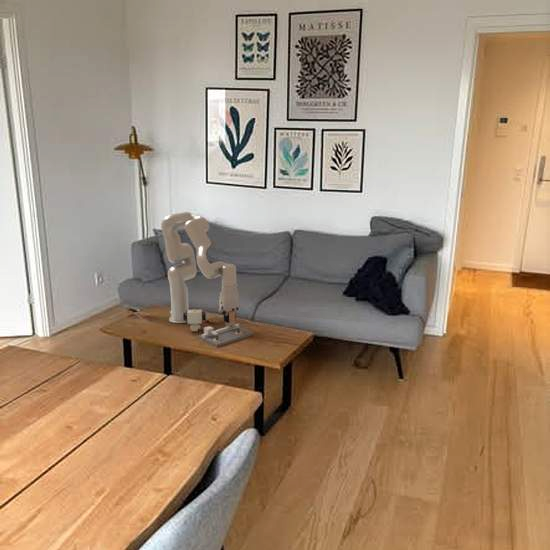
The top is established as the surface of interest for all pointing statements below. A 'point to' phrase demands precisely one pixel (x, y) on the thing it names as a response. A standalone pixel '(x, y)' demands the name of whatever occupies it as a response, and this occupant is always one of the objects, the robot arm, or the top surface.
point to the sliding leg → (231, 319)
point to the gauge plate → (224, 335)
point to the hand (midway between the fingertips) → (229, 320)
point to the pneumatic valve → (194, 318)
